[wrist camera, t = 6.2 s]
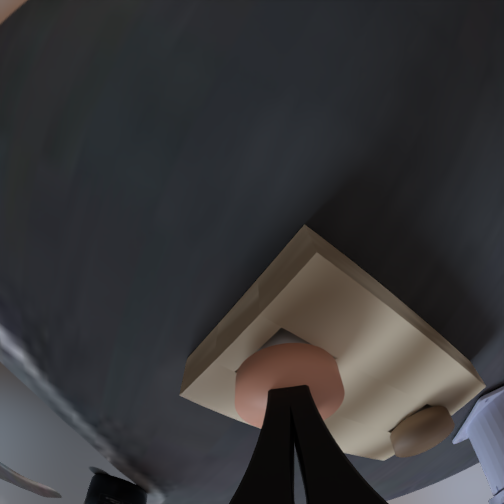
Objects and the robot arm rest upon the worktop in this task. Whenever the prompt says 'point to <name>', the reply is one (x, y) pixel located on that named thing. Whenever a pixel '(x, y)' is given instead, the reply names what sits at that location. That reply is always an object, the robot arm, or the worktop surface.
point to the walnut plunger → (421, 431)
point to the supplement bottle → (113, 491)
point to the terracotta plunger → (287, 376)
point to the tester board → (336, 345)
